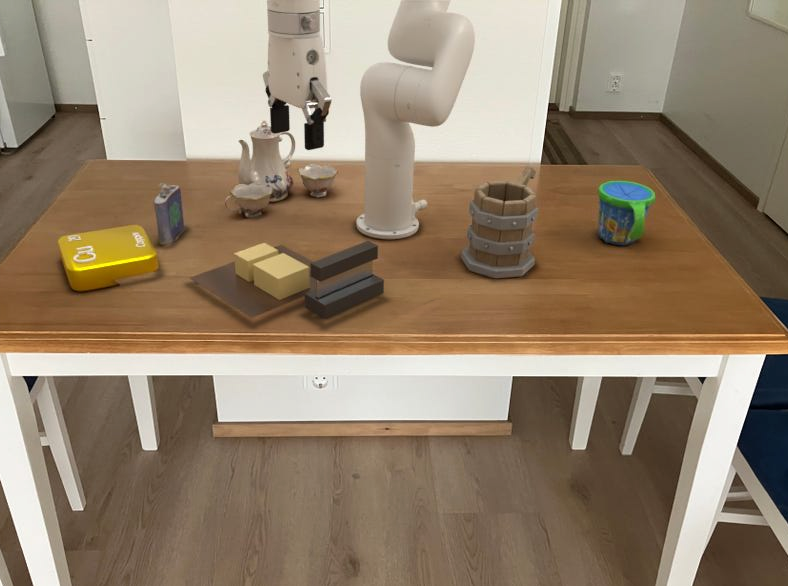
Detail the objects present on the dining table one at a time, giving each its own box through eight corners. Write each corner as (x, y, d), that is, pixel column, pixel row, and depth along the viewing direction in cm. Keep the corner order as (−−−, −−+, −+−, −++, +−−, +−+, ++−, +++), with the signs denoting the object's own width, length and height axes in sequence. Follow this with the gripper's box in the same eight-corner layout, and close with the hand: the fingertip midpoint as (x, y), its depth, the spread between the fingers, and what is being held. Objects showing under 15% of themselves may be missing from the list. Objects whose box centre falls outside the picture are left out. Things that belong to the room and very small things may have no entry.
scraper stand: (363, 289, 135) (363, 269, 133) (383, 300, 132) (384, 279, 130) (305, 314, 127) (304, 293, 125) (325, 326, 124) (324, 305, 122)
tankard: (513, 285, 138) (524, 205, 129) (451, 265, 143) (457, 188, 135) (556, 245, 152) (569, 171, 143) (498, 229, 157) (507, 157, 149)
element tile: (162, 277, 136) (158, 253, 134) (73, 294, 131) (67, 268, 128) (144, 243, 148) (140, 220, 145) (60, 257, 142) (55, 233, 139)
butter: (284, 273, 136) (283, 252, 134) (309, 287, 132) (309, 266, 130) (254, 285, 132) (252, 264, 130) (279, 300, 128) (278, 278, 126)
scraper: (367, 293, 134) (368, 240, 128) (376, 298, 132) (378, 245, 127) (311, 317, 127) (310, 262, 121) (321, 323, 125) (320, 268, 120)
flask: (170, 247, 146) (162, 193, 140) (155, 246, 147) (147, 192, 141) (187, 228, 154) (180, 176, 148) (173, 226, 154) (166, 175, 148)
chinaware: (252, 236, 155) (252, 157, 145) (199, 205, 163) (195, 128, 153) (347, 197, 173) (353, 125, 163) (295, 171, 181) (298, 101, 171)
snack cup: (655, 256, 149) (667, 206, 143) (601, 255, 148) (611, 205, 143) (631, 222, 162) (641, 175, 156) (581, 222, 161) (589, 175, 156)
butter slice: (265, 262, 139) (264, 242, 137) (279, 270, 137) (278, 250, 134) (235, 273, 135) (233, 253, 133) (249, 282, 133) (247, 261, 131)
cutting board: (281, 251, 146) (281, 244, 145) (345, 286, 136) (345, 278, 135) (190, 285, 134) (189, 277, 134) (252, 325, 124) (251, 317, 123)
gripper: (349, 31, 109) (348, 151, 118) (284, 11, 120) (287, 122, 129) (305, 35, 105) (307, 159, 114) (241, 15, 116) (248, 129, 125)
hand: (297, 139), depth 122 cm, fingers open, 9 cm apart
